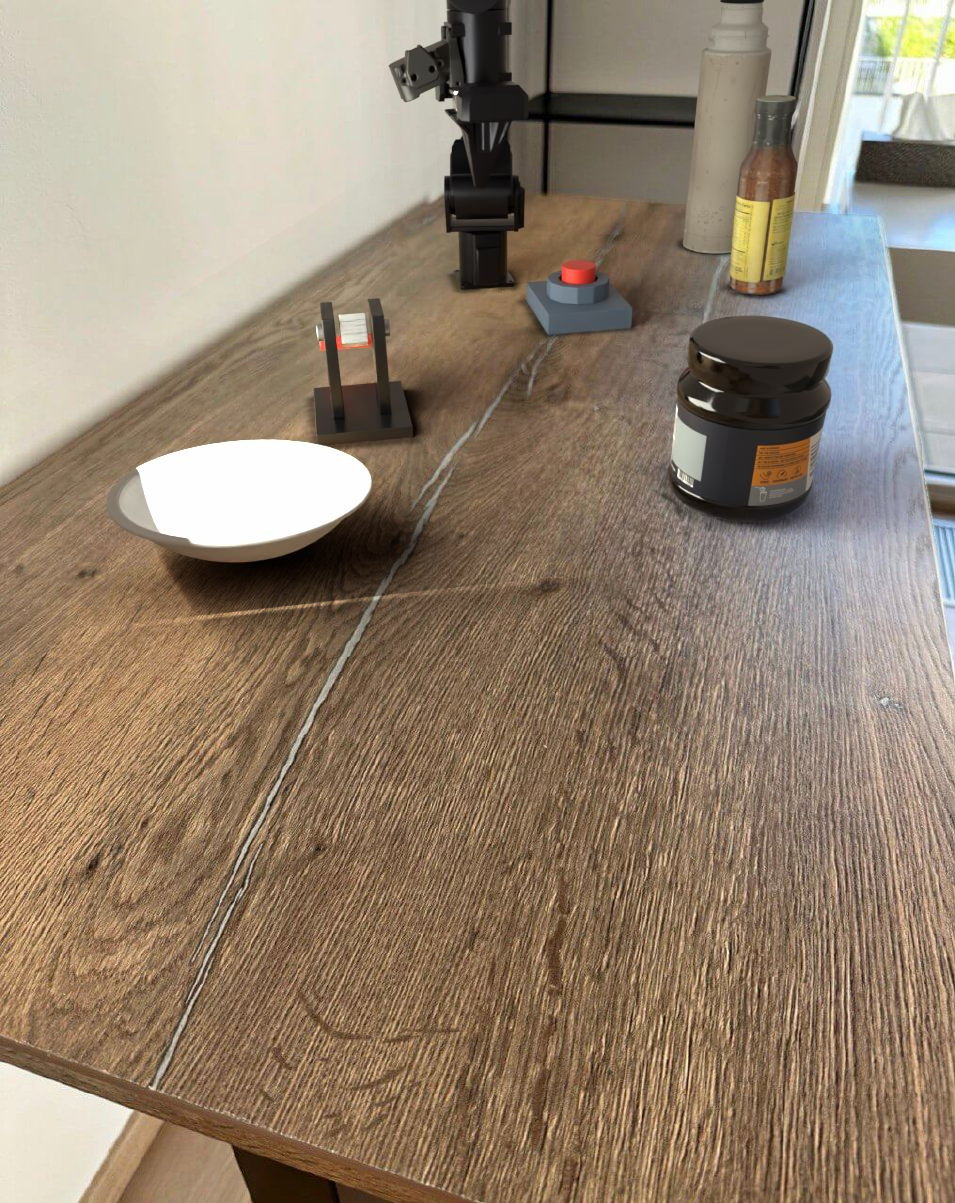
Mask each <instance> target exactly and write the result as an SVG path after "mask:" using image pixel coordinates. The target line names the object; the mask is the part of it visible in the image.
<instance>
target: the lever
mask: <svg viewBox="0 0 955 1203" xmlns="http://www.w3.org/2000/svg"><path fill="white" fill-rule="evenodd" d="M338 325H339V335H336V341H337V351H338V350H339V351H340V350H348V349H349V350H351V349H363V348H372V342H371V333H369V332H368V324H367V314H366V312H351V313H339V314H338ZM319 349H320V351H321V352H323V351H324V352H325V346H324V341H320V342H319Z"/></svg>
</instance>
